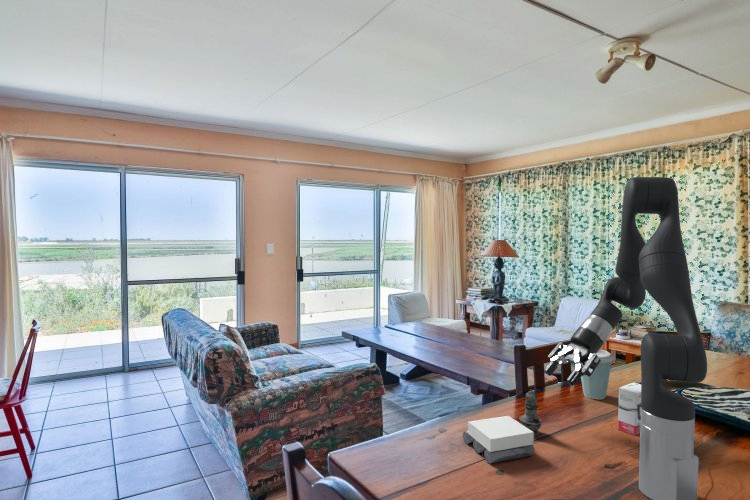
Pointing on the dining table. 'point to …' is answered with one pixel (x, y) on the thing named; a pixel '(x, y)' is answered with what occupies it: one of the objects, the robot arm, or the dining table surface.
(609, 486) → the dining table surface
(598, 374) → the disposable coffee cup
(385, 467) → the dining table surface
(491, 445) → the slab
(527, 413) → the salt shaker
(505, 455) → the roller track
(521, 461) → the dining table surface
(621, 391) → the ink box
